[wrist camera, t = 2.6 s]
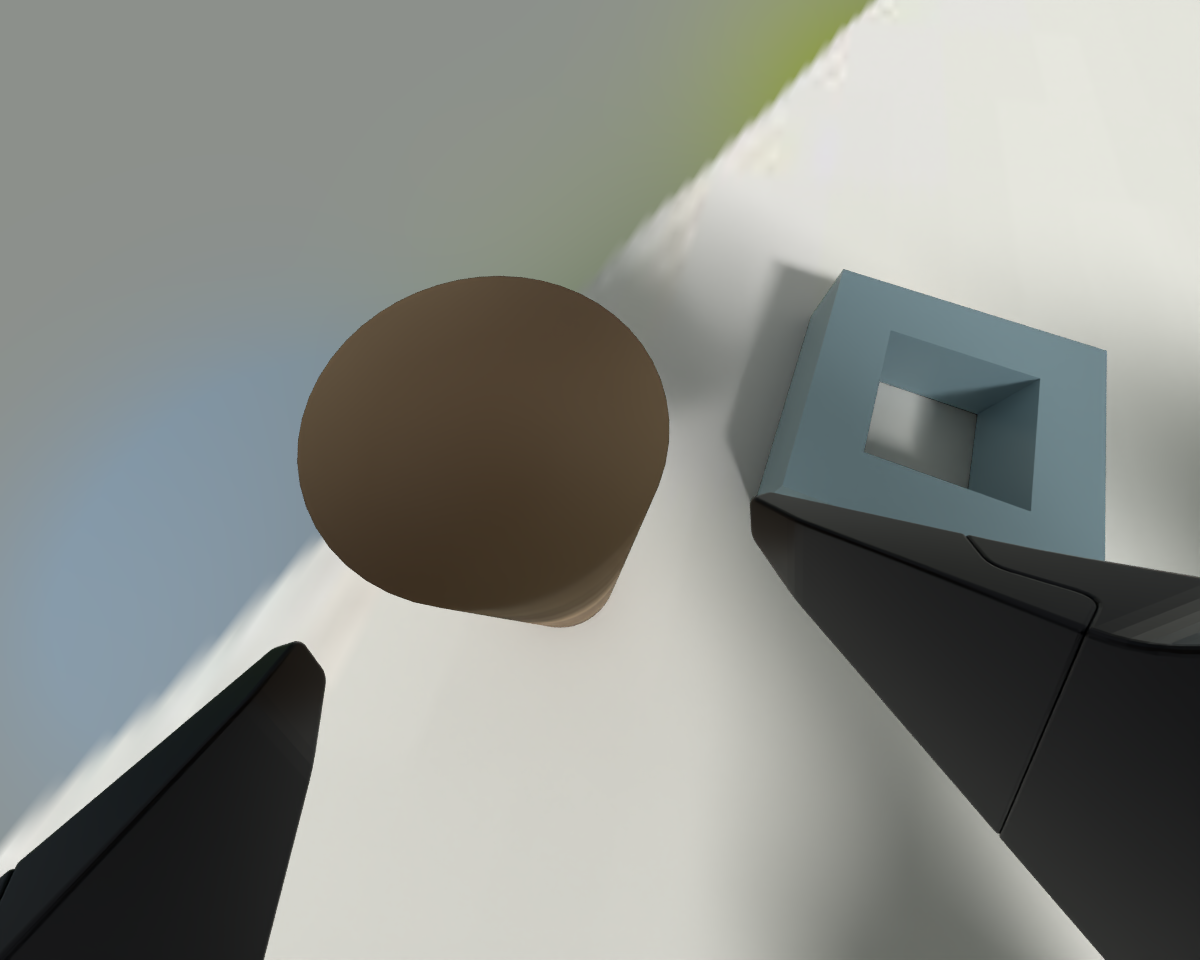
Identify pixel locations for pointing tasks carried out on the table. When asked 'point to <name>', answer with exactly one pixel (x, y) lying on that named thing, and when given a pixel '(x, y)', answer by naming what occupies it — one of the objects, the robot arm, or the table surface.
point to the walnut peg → (487, 449)
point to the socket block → (964, 380)
